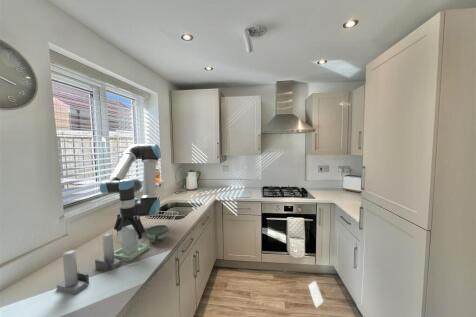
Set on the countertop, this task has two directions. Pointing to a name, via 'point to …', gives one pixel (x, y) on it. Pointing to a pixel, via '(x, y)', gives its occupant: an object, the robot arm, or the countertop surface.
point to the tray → (124, 257)
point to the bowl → (157, 233)
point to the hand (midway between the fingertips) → (129, 242)
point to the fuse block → (79, 280)
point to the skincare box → (129, 240)
